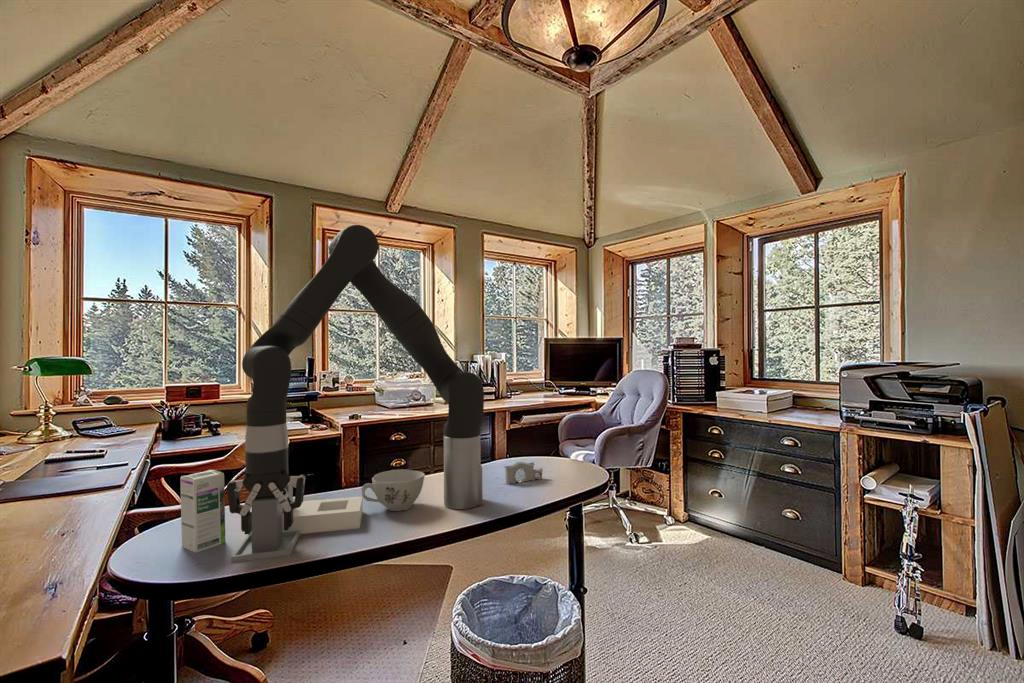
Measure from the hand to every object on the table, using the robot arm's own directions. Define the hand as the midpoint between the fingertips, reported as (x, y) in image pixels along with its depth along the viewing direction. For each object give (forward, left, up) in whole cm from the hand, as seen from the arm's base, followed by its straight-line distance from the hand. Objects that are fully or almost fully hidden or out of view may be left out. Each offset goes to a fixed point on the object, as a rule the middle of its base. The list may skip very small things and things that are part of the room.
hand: (267, 530), depth 94 cm
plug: (0, 0, -3) cm, 3 cm away
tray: (0, 0, -4) cm, 4 cm away
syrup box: (+13, -5, -4) cm, 14 cm away
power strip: (-6, -11, -4) cm, 13 cm away
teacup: (-24, -17, -4) cm, 30 cm away
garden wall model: (-61, -30, -4) cm, 68 cm away
